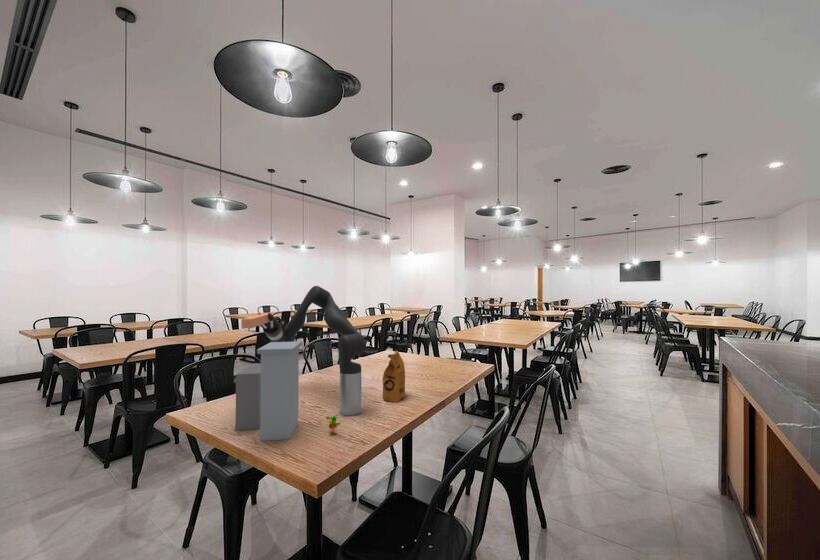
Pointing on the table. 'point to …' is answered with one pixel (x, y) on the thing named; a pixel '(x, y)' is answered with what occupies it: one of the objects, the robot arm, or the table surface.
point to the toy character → (333, 423)
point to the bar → (255, 321)
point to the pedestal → (279, 390)
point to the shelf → (248, 397)
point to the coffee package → (394, 379)
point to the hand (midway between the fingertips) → (263, 315)
